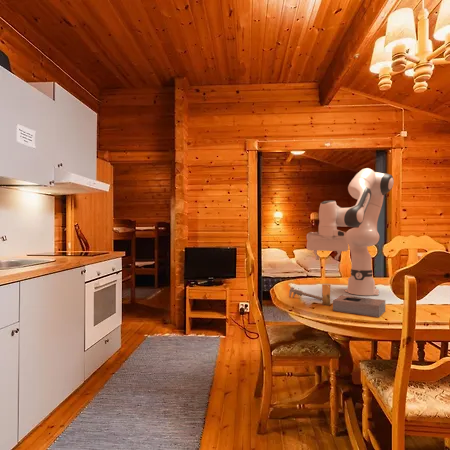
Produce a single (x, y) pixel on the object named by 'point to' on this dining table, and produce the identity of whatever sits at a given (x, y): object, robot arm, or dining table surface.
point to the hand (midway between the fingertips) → (326, 259)
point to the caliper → (302, 294)
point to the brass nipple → (325, 294)
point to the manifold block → (359, 305)
